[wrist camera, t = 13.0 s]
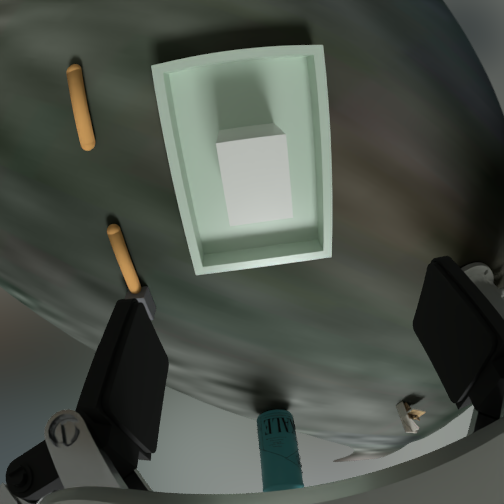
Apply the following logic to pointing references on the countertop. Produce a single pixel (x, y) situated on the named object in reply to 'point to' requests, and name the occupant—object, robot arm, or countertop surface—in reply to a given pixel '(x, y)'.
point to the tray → (239, 115)
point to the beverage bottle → (279, 451)
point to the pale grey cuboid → (255, 173)
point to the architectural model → (409, 417)
